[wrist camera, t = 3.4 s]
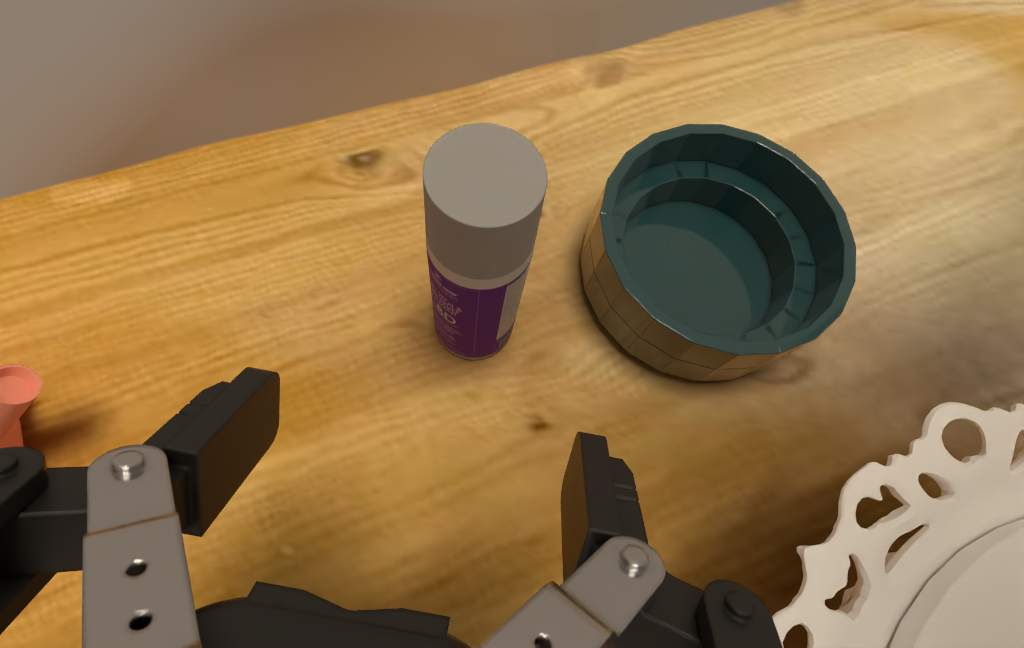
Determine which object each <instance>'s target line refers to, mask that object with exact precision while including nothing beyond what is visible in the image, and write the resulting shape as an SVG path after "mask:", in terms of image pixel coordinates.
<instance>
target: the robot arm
mask: <svg viewBox="0 0 1024 648" xmlns="http://www.w3.org/2000/svg"><path fill="white" fill-rule="evenodd" d="M279 400H280V377H279V374H278V373H277V372H272V371H267V370H262V369H256V368H251V367H247V368H245V369H244V370H243V371H242V372H241V373H240V374H239V375H238V376H237V377H236V378H235V379H234V380H233V381H232V382H231V383H228V382H223V381H222V382H220V383H218V384H216V385H213V386H211V387H209V388H207V389H204V390H203V391H202V392H200V393H199V394H198V395H197V396H196V397H195V398H194V399H193V400H191V401H190V404H187V405H186V406H185V407H184V408H183V409H181V410H180V412H179V414H176V415H175V416H174V417H172V418H171V419H170V420H169V421H168V422H167V423H166V424H165V425H164V426H162V427H161V428H160V429H159V430H158V431H157V432H156V433H155V434H153V435H152V436H151V437H150V438H149V439H148V440H147V441H146V442H144V443H143V444H142V445H130V446H124V447H120V448H116V449H113V450H111V451H108V452H106V453H104V454H102V455H101V456H99V457H98V458H96V459H95V460H94V461H93V462H92V463H91V465H90V466H88V467H63V468H47V467H46V462H45V458H44V455H43V454H42V453H41V452H40V451H38V450H36V449H33V448H29V447H5V448H0V634H1V633H2V632H3V631H4V630H5V629H6V628H7V627H8V626H9V625H10V623H11V622H12V621H13V620H14V619H15V618H16V617H17V616H18V615H19V614H20V613H21V611H22V610H23V609H24V608H25V607H26V606H27V605H28V604H29V603H30V602H31V600H32V599H33V598H34V597H35V596H36V595H37V594H38V593H39V592H40V591H41V589H42V588H43V587H44V586H45V585H46V584H47V583H48V582H49V581H50V580H51V579H52V577H53V576H54V575H55V574H56V573H57V572H67V571H79V570H83V582H82V648H471V647H470V646H468V645H467V644H466V643H464V642H463V641H461V640H460V639H458V638H456V637H454V636H452V635H450V634H448V633H447V631H448V626H449V620H450V617H447V616H442V615H436V614H431V613H425V612H420V611H415V610H409V609H404V608H399V609H378V610H358V611H351V610H347V609H344V608H342V607H340V606H338V605H335V604H333V603H331V602H329V601H327V600H325V599H322V598H320V597H318V596H316V595H314V594H312V593H309V592H307V591H305V590H301V589H295V588H290V587H285V586H279V585H274V584H268V583H263V582H258V581H256V583H255V585H254V586H253V588H252V590H251V591H250V593H249V595H248V597H243V598H235V599H229V600H224V601H220V602H216V603H213V604H210V605H207V606H204V607H202V608H199V609H197V610H195V607H194V601H193V595H192V589H191V583H190V578H189V572H188V566H187V560H186V555H185V549H184V543H183V537H182V533H183V534H188V535H194V536H199V537H202V535H203V534H204V533H205V532H206V530H207V529H208V528H209V526H210V525H211V524H212V522H213V521H214V520H215V518H216V517H217V516H218V514H219V513H220V512H221V511H222V509H223V508H224V507H225V505H226V504H227V503H228V501H229V500H230V499H231V497H232V496H233V495H234V493H235V492H236V491H237V489H238V488H239V487H240V486H241V484H242V483H243V482H244V480H245V479H246V478H247V476H248V475H249V474H250V472H251V471H252V470H253V468H254V467H255V466H256V464H257V463H258V462H259V461H260V459H261V458H262V457H263V455H264V454H265V453H266V451H267V450H268V449H269V447H270V446H271V445H272V443H273V441H274V439H275V437H276V434H277V430H278V426H279ZM638 500H639V499H638V495H637V491H636V486H635V481H634V477H633V473H632V472H631V470H630V469H629V468H628V466H627V465H626V464H625V462H624V461H623V460H622V459H619V458H613V457H609V452H608V446H607V440H606V437H604V436H599V435H594V434H589V433H583V432H578V433H577V434H576V437H575V440H574V444H573V447H572V451H571V454H570V458H569V461H568V465H567V468H566V472H565V475H564V479H563V484H562V491H561V524H562V555H563V584H561V585H560V586H559V585H558V584H556V583H555V582H554V581H551V582H549V583H547V584H546V585H544V586H543V587H542V588H541V589H540V590H539V591H538V592H537V593H536V594H534V595H533V596H532V597H531V598H530V599H529V600H528V601H527V602H526V603H525V604H524V605H523V606H521V607H520V608H519V609H518V610H517V611H516V612H515V613H514V614H513V615H512V616H511V617H510V618H508V619H507V620H506V621H505V622H504V623H503V624H502V625H501V626H500V627H499V628H498V629H497V630H495V631H494V632H493V633H492V634H491V635H490V636H489V637H488V638H487V639H486V640H485V641H484V642H482V643H481V644H480V645H479V646H478V647H477V648H783V646H782V643H781V641H780V638H779V635H778V632H777V629H776V627H775V624H774V621H773V618H772V616H771V613H770V611H769V610H768V608H767V606H766V605H765V604H764V602H763V601H762V600H761V599H760V598H759V597H758V596H757V595H756V594H754V593H753V592H752V591H750V590H749V589H747V588H746V587H744V586H742V585H740V584H738V583H735V582H732V581H728V580H715V581H713V582H711V583H709V584H708V585H707V586H706V588H705V590H704V591H703V590H701V589H699V588H697V587H694V586H692V585H690V584H688V583H686V582H684V581H681V580H679V579H678V578H676V577H674V576H672V575H671V574H669V573H668V572H667V571H666V569H665V564H664V562H663V560H662V558H661V557H660V555H659V554H658V553H657V552H656V551H655V550H654V549H653V548H652V547H651V546H650V545H648V541H647V536H646V531H645V527H644V522H643V518H642V513H641V509H640V504H639V503H638Z"/></svg>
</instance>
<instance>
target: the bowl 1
mask: <svg viewBox="0 0 1024 648" xmlns="http://www.w3.org/2000/svg"><path fill="white" fill-rule="evenodd" d="M581 266H582V274H583V282H584V289H585V292H586V295H587V297H588V299H589V301H590V303H591V305H592V307H593V309H594V311H595V313H596V315H597V318H598V320H599V322H601V324H602V325H603V326H604V327H605V329H606V330H607V331H608V332H609V333H610V334H611V335H612V336H613V337H614V338H615V339H616V341H617V342H618V343H619V344H620V345H621V346H622V347H623V348H624V349H625V350H626V351H627V352H628V353H630V354H632V355H633V356H635V357H637V358H638V359H640V360H642V361H643V362H645V363H646V364H648V365H650V366H651V367H653V368H655V369H656V370H658V371H661V372H664V373H668V374H671V375H675V376H679V377H683V378H686V379H690V380H694V381H715V380H733V379H736V378H739V377H741V376H744V375H746V374H749V373H751V372H754V371H756V370H759V369H761V368H764V367H766V366H767V365H769V364H771V363H773V362H775V361H777V360H778V359H780V358H782V357H784V356H786V355H787V354H789V353H791V352H793V351H795V350H797V349H799V348H801V347H802V346H804V345H806V344H808V343H810V342H812V341H813V340H815V339H816V338H818V337H819V336H820V335H821V334H822V333H823V332H824V331H825V330H826V329H827V328H828V327H829V326H830V325H831V324H832V323H833V322H834V321H835V320H836V319H837V318H838V317H839V316H840V315H841V314H842V312H843V310H844V307H845V305H846V302H847V300H848V298H849V295H850V293H851V290H852V288H853V286H854V283H855V273H856V245H855V241H854V238H853V235H852V232H851V229H850V226H849V223H848V220H847V217H846V214H845V211H844V209H843V208H842V206H841V205H840V204H839V202H838V201H837V199H836V198H835V196H834V195H833V193H832V192H831V190H830V189H829V187H828V186H827V184H826V183H825V181H824V180H822V178H821V177H820V176H819V175H818V174H817V173H816V172H815V171H813V170H812V169H811V168H810V167H809V166H808V165H807V164H806V163H805V162H803V161H802V160H801V159H800V158H799V157H798V156H797V155H796V154H793V152H791V151H789V150H787V149H785V148H784V147H782V146H780V145H778V144H776V143H774V142H773V141H771V140H769V139H767V138H765V137H763V136H761V135H759V134H756V133H752V132H749V131H745V130H741V129H737V128H734V127H730V126H726V125H722V124H687V125H683V126H679V127H676V128H672V129H668V130H665V131H661V132H658V133H654V134H652V135H651V136H649V137H648V138H646V139H645V140H643V141H642V142H640V143H639V144H638V145H636V146H635V147H633V148H632V149H630V150H629V151H627V152H626V153H625V155H624V156H623V157H622V159H621V160H620V162H619V163H618V165H617V166H616V168H615V169H614V171H613V172H612V174H611V175H610V176H609V178H608V179H607V182H606V184H605V187H604V189H603V191H602V194H601V196H600V198H599V201H598V203H597V205H596V208H595V210H594V212H593V215H592V217H591V219H590V222H589V224H588V227H587V230H586V234H585V239H584V243H583V247H582V252H581Z"/></svg>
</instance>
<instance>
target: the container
mask: <svg viewBox="0 0 1024 648" xmlns="http://www.w3.org/2000/svg"><path fill="white" fill-rule="evenodd" d="M423 187H424V206H425V225H426V246H427V256H428V265H429V274H430V283H431V292H432V302H433V311H434V320H435V328H436V332H437V336H438V338H439V340H440V342H441V343H442V345H443V346H444V347H445V348H446V349H447V350H448V351H449V352H451V353H452V354H454V355H456V356H458V357H460V358H463V359H468V360H480V359H485V358H488V357H490V356H492V355H494V354H496V353H497V352H499V351H500V350H501V349H502V348H503V347H504V346H505V344H506V343H507V341H508V340H509V337H510V335H511V332H512V328H513V325H514V321H515V317H516V313H517V310H518V306H519V302H520V299H521V295H522V291H523V288H524V284H525V280H526V276H527V273H528V269H529V265H530V262H531V258H532V254H533V249H534V244H535V239H536V235H537V230H538V225H539V220H540V216H541V211H542V206H543V202H544V197H545V192H546V187H547V169H546V165H545V162H544V160H543V158H542V156H541V154H540V152H539V151H538V150H537V148H536V147H535V146H534V145H533V144H532V143H531V142H530V141H529V140H528V139H527V138H526V137H524V136H523V135H521V134H520V133H518V132H516V131H514V130H512V129H510V128H507V127H504V126H500V125H496V124H489V123H476V124H469V125H464V126H461V127H458V128H455V129H453V130H451V131H449V132H447V133H446V134H444V135H443V136H442V137H440V138H439V139H438V140H437V141H436V142H435V143H434V144H433V146H432V147H431V148H430V150H429V152H428V154H427V156H426V158H425V161H424V166H423Z"/></svg>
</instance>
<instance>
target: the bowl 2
mask: <svg viewBox="0 0 1024 648" xmlns="http://www.w3.org/2000/svg"><path fill="white" fill-rule="evenodd" d="M955 419H966V420H969V421H971V422H973V423H974V424H975V425H976V426H977V427H978V429H979V431H980V434H981V438H982V446H981V450H980V452H979V453H978V455H974V456H969V457H964V458H963V459H962V461H958V460H957V459H955V458H954V457H952V456H951V455H950V453H949V452H948V451H947V450H946V449H945V447H944V444H943V442H942V432H943V428H944V427H945V426H946V425H947V423H949V422H950V421H952V420H955ZM1020 431H1022V434H1023V444H1022V449H1021V451H1020V452H1019V454H1018V456H1017V457H1016V459H1015V460H1014V461H1013V462H1012V463H1011V461H1012V457H1013V453H1014V448H1015V443H1016V439H1017V437H1018V435H1019V433H1020ZM921 473H923V474H927V475H928V476H929V477H931V478H932V479H934V480H935V481H936V483H937V484H938V486H939V487H940V488H941V496H940V497H938V498H931V497H930V496H928V495H927V493H926V492H925V491H924V490H923V489H922V487H921V485H920V484H919V482H918V477H919V475H920V474H921ZM881 485H884V486H885V487H887V488H888V489H889V491H890V493H891V495H892V496H894V497H895V498H896V499H898V500H899V501H900V502H901V503H902V504H903V506H901V507H899V508H897V509H895V510H893V511H891V512H890V513H889V514H888V515H887V516H884V517H882V518H880V519H879V520H878V521H877V522H875V523H874V524H873V525H872V526H870V527H868V528H866V529H864V528H861V527H860V526H859V525H858V524H857V523H856V515H855V512H856V508H857V504H858V503H859V502H860V500H861V499H862V498H864V497H869V498H871V499H874V500H877V501H881V500H882V499H883V498H882V496H881V493H880V486H881ZM920 525H923V527H922V528H921V529H920V530H919V531H918V532H916V533H915V534H914V535H913V536H912V537H910V538H909V539H908V540H907V541H906V542H905V543H904V544H903V545H902V546H901V547H900V549H899V550H898V551H897V552H893V553H888V550H889V548H890V546H891V545H892V544H893V542H894V541H895V540H896V539H897V538H898V537H899V536H901V535H903V534H904V533H907V532H910V531H911V530H913V529H915V528H916V527H918V526H920ZM796 548H797V553H798V554H799V556H800V557H801V560H802V569H803V581H802V584H801V587H800V590H799V592H798V594H797V595H796V596H795V597H794V598H793V599H792V601H791V603H790V604H789V605H788V606H787V607H785V608H783V609H781V610H780V611H778V612H776V613H775V614H774V615H773V616H772V618H773V621H774V624H775V627H776V629H777V632H778V635H779V638H780V641H781V643H782V646H783V640H784V638H785V635H786V633H787V632H788V631H789V630H790V629H791V628H792V627H793V626H795V625H798V624H800V625H802V626H804V627H805V629H806V631H807V637H808V643H807V648H1024V405H1023V404H1021V403H1017V404H1012V405H1011V407H1010V412H1008V411H1005V410H1003V409H1000V408H995V407H994V408H990V409H989V410H987V411H982V410H980V409H978V408H975V407H972V406H969V405H966V404H963V403H958V402H947V403H942V404H940V405H938V406H936V407H935V408H933V409H932V410H931V411H930V413H929V414H928V415H927V416H926V417H925V420H924V423H923V426H922V436H921V437H920V438H919V439H916V440H912V442H911V443H910V447H909V454H908V455H906V456H903V455H901V454H893V455H889V456H888V460H887V463H886V466H883V465H880V464H878V463H877V462H868V463H867V464H866V465H864V466H863V467H862V468H861V469H859V470H858V471H857V472H855V473H854V474H853V475H852V476H851V477H850V478H849V479H848V480H847V482H846V483H845V485H844V486H843V488H842V489H841V493H840V498H839V502H838V518H837V521H836V523H835V524H834V527H833V531H832V533H831V534H830V536H829V537H828V538H827V539H826V540H825V542H823V543H821V544H818V545H812V546H798V547H796ZM849 555H851V557H852V559H853V561H854V563H855V566H856V570H857V576H858V580H857V582H856V584H855V586H854V587H851V588H849V589H847V590H845V591H844V595H843V599H842V603H841V606H840V607H839V609H837V610H831V609H828V608H827V607H826V606H825V600H826V599H830V598H833V597H834V595H835V594H836V592H837V591H839V590H840V589H842V588H844V587H845V586H846V585H847V574H848V569H849V567H850V560H849Z"/></svg>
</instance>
